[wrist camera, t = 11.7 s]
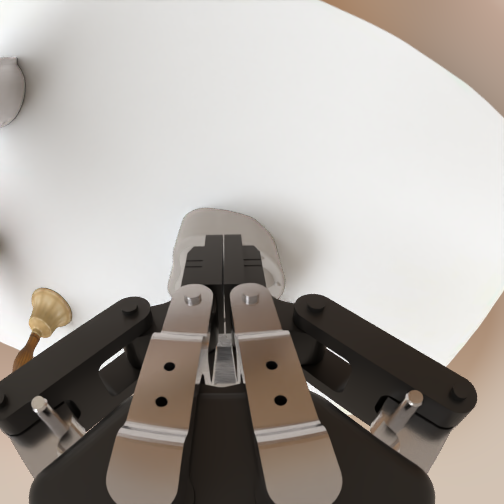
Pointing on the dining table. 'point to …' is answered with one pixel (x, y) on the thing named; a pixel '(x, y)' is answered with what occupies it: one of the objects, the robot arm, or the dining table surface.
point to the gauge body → (224, 368)
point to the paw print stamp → (220, 224)
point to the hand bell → (43, 321)
